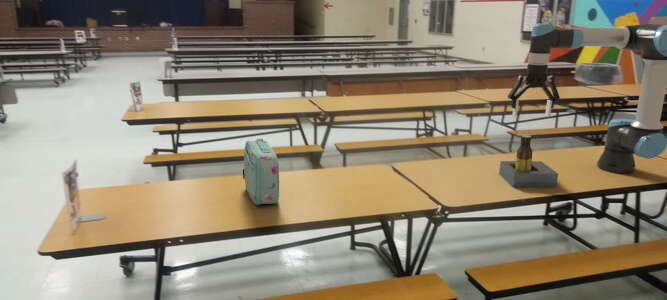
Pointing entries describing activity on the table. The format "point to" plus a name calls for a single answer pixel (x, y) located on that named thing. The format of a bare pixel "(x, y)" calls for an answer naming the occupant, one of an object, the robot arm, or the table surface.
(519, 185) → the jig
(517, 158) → the sauce bottle
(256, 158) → the lunch box
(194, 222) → the table surface
